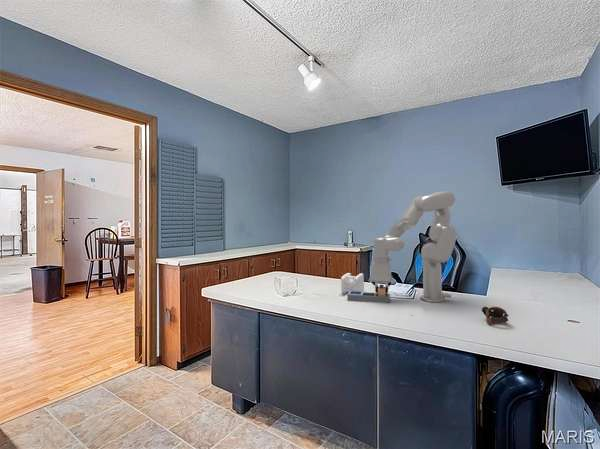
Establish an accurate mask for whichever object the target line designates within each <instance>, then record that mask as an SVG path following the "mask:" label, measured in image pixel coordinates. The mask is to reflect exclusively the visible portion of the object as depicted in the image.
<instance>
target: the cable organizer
mask: <svg viewBox="0 0 600 449" xmlns="http://www.w3.org/2000/svg"><path fill="white" fill-rule="evenodd" d="M364 278H365V277H364V273H363V272H361V273H359V274H357V275H356V276H355V275H352V273H351V272H347V273H345V274H343V275H342V276H341V278H340V282H341V287H340V288H341V294H342V295H346V294H348V292H349V290H350V291H364V290H365V284H364V283H365V281H364V280H365V279H364Z"/></svg>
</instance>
